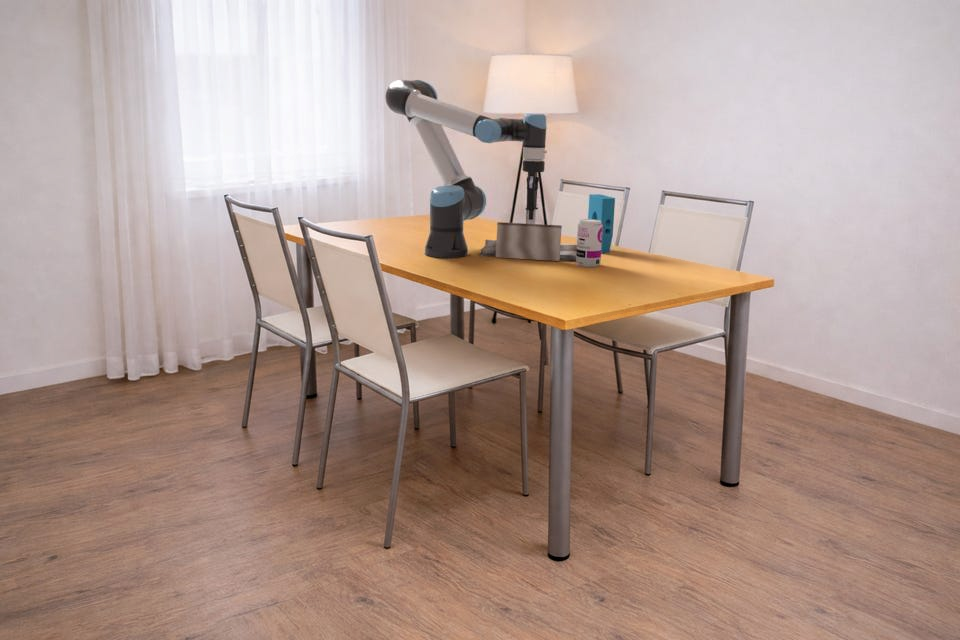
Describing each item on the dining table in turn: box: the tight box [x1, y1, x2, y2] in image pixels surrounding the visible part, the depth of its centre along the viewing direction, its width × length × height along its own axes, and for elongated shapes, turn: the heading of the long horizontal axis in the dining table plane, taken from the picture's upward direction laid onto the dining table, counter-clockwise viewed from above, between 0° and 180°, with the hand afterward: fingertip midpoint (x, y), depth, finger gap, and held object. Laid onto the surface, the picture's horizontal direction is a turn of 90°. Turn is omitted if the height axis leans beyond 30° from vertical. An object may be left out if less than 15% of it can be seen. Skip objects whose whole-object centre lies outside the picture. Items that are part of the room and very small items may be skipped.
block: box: [587, 193, 616, 254], centre depth 315 cm, size 12×5×20 cm, turn 20°
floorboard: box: [479, 239, 577, 263], centre depth 303 cm, size 36×11×4 cm, turn 79°
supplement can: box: [575, 218, 603, 268], centre depth 289 cm, size 8×8×15 cm
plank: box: [495, 221, 562, 262], centre depth 297 cm, size 22×12×2 cm
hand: (530, 228), depth 301 cm, fingers closed
